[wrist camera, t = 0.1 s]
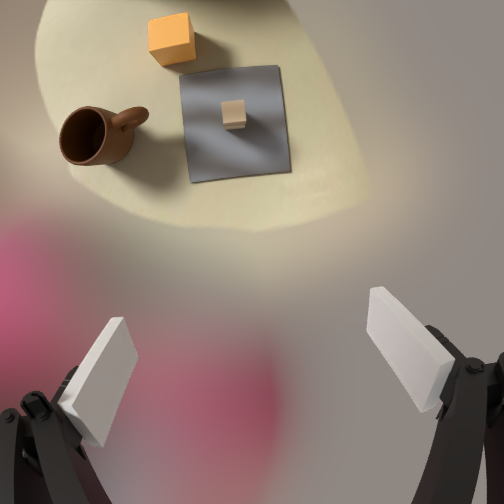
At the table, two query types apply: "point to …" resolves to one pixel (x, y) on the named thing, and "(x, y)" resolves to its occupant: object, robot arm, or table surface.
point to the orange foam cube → (172, 39)
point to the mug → (99, 135)
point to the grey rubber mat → (234, 122)
